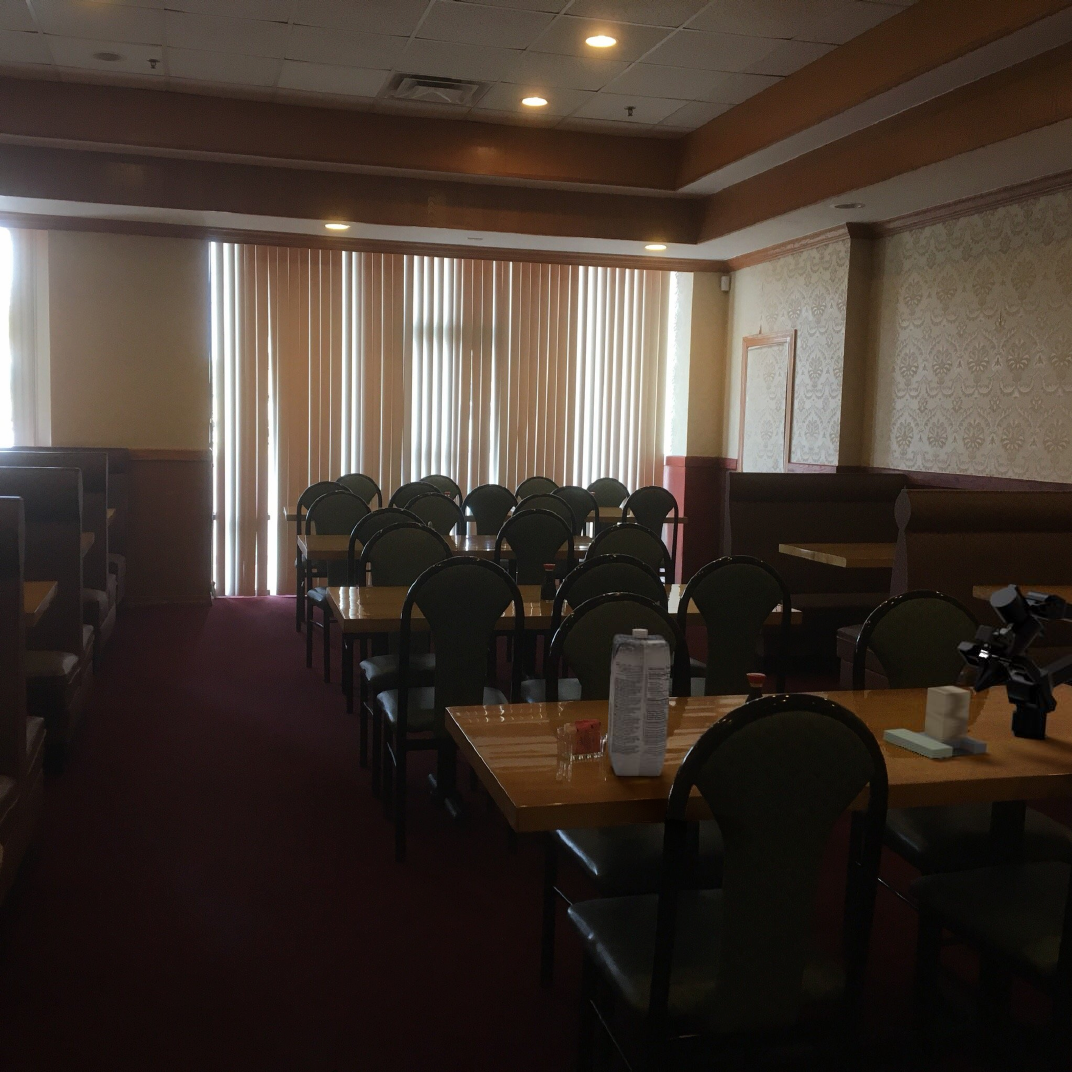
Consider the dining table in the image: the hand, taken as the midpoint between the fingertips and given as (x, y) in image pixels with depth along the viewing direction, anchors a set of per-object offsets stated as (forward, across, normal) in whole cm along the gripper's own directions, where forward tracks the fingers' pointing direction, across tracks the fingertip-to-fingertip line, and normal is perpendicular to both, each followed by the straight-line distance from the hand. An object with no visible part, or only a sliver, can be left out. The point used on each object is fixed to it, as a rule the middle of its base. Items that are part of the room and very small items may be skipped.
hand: (975, 690), depth 234 cm
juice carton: (+64, -6, -49) cm, 81 cm away
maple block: (+12, 0, +1) cm, 12 cm away
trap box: (+15, 0, 0) cm, 15 cm away
